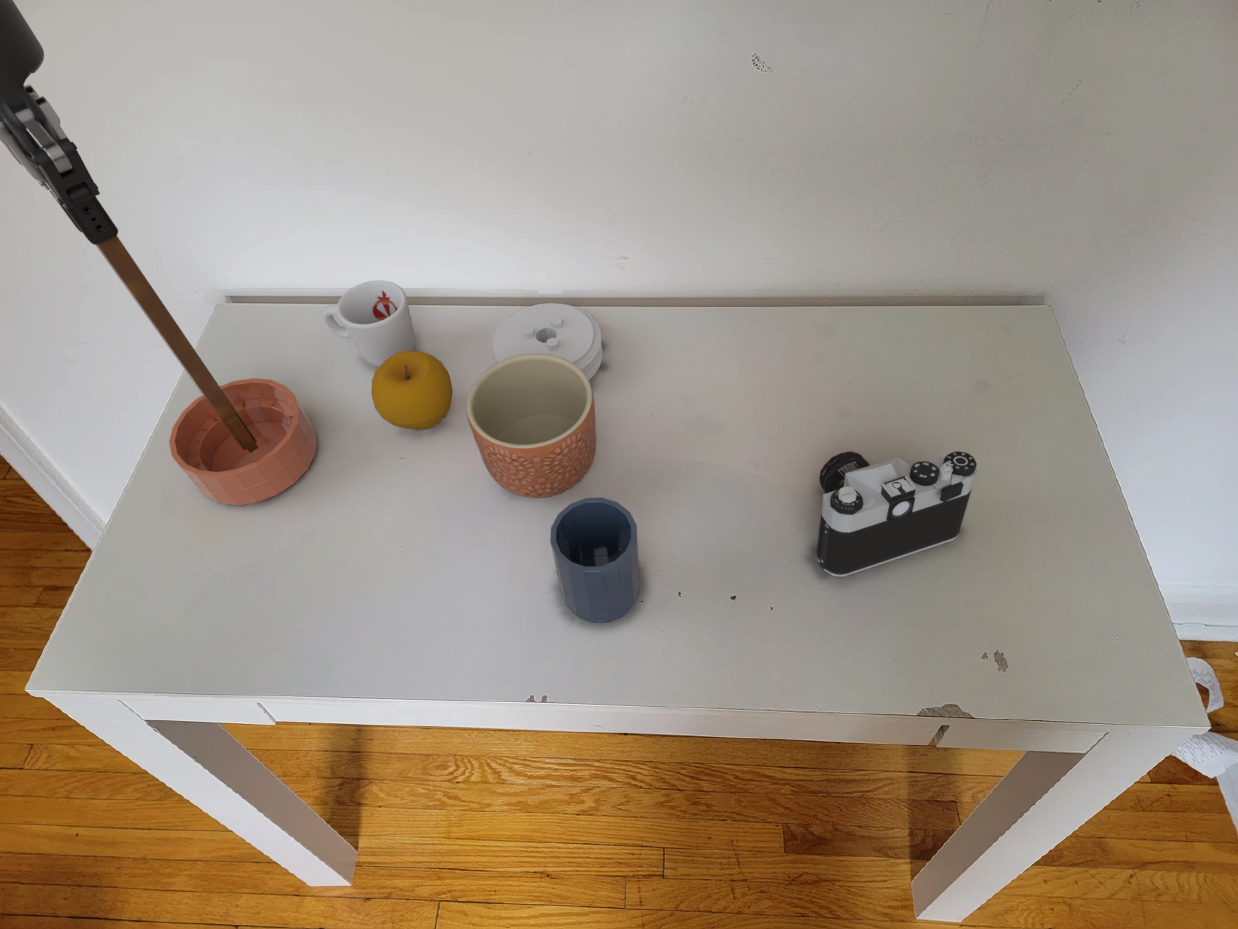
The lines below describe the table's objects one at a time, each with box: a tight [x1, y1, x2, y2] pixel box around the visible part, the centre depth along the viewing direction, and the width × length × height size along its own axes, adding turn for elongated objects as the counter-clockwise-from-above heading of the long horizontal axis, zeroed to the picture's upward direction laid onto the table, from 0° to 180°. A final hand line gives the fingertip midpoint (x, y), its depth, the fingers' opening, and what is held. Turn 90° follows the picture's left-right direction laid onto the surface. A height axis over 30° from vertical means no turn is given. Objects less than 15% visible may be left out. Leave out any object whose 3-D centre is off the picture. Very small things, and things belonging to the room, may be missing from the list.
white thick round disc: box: [492, 302, 604, 381], centre depth 90 cm, size 13×13×5 cm
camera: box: [816, 450, 978, 578], centre depth 73 cm, size 15×11×10 cm
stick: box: [95, 235, 258, 453], centre depth 70 cm, size 2×3×32 cm, turn 45°
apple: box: [370, 350, 454, 431], centre depth 84 cm, size 9×8×9 cm
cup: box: [322, 279, 416, 367], centre depth 91 cm, size 11×8×8 cm
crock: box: [549, 496, 641, 624], centre depth 70 cm, size 7×7×10 cm
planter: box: [466, 353, 597, 499], centre depth 78 cm, size 12×12×11 cm
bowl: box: [168, 377, 318, 506], centre depth 83 cm, size 13×13×6 cm
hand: (99, 232), depth 61 cm, fingers closed on stick, 1 cm apart
